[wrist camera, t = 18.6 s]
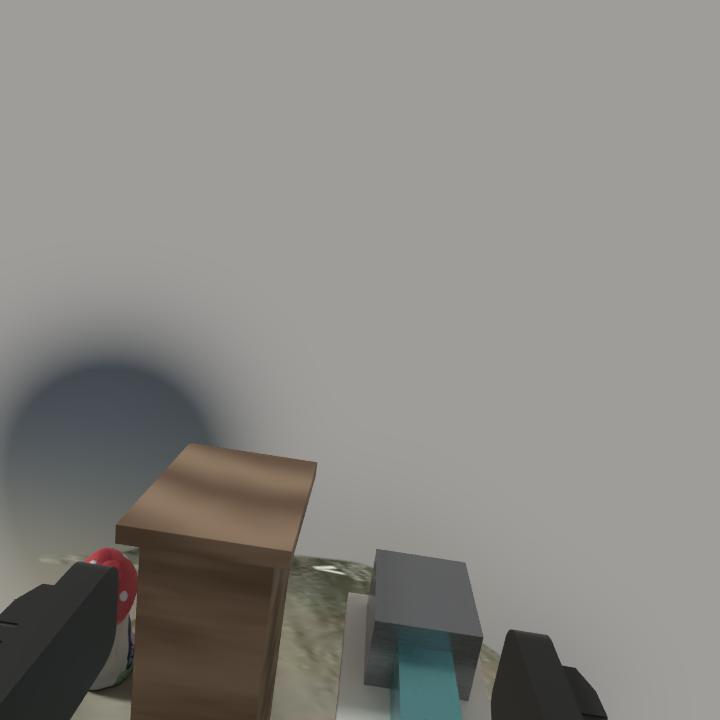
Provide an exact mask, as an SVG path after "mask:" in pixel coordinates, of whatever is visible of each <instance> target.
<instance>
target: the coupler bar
mask: <svg viewBox="0 0 720 720" xmlns="http://www.w3.org/2000/svg"><path fill="white" fill-rule="evenodd" d="M482 641H483V634H482V630H481V625H480V621H479V617H478V613H477V609H476V605H475V601H474V597H473V592H472V588H471V584H470V580H469V576H468V572H467V568H466V564H465V563H464V562H457V561H451V560H444V559H438V558H432V557H425V556H419V555H412V554H405V553H399V552H392V551H386V550H380V549H377V550H376V555H375V561H374V567H373V573H372V579H371V584H370V590H369V596H368V602H367V620H366V642H365V664H364V685H369V686H376V687H382V688H388V689H390V720H463V718H462V712H461V706H460V700H466V701H469V697H470V692H471V688H472V684H473V680H474V675H475V671H476V667H477V663H478V658H479V654H480V650H481V646H482Z"/></svg>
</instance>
